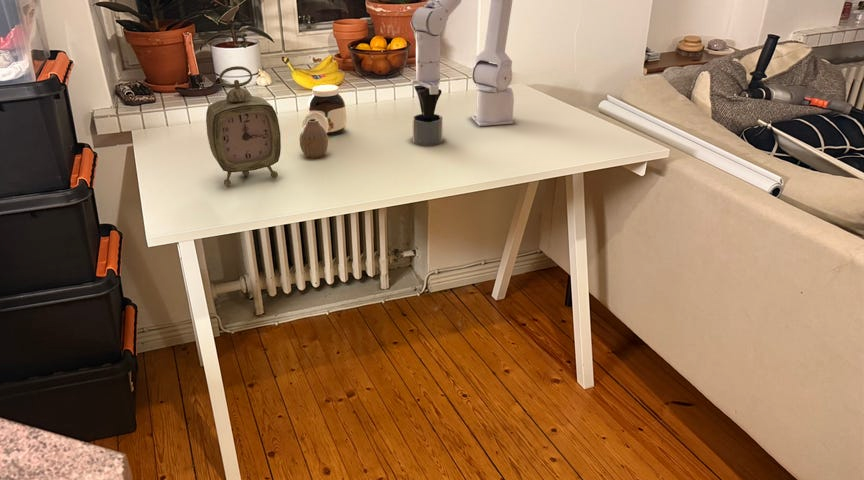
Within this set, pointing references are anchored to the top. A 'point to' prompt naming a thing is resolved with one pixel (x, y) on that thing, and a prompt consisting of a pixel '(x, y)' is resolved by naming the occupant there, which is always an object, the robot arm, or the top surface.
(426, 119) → the grey upright block
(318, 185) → the top surface
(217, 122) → the tabletop clock
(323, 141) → the vase
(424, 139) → the grey plastic cup
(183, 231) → the top surface
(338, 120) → the spread jar
